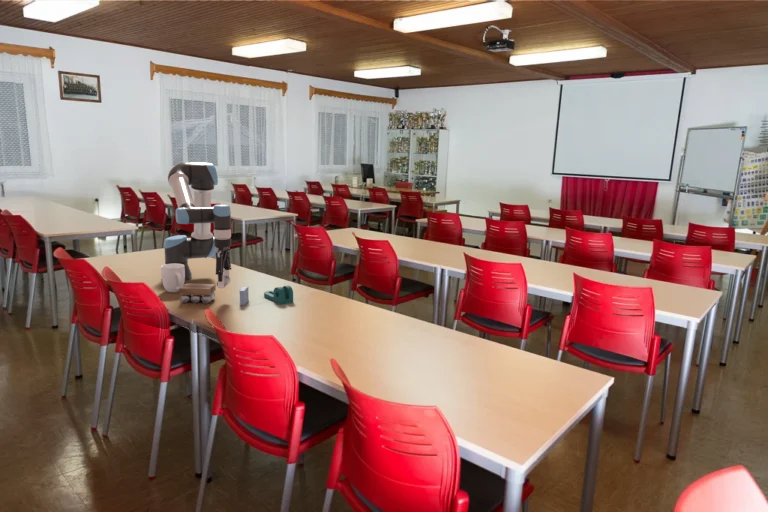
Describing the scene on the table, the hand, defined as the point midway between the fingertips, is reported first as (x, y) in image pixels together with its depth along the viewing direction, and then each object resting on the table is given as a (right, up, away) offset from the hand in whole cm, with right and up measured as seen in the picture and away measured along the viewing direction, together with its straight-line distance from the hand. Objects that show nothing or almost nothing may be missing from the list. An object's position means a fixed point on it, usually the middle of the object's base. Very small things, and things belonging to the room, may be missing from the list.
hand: (224, 285), depth 242 cm
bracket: (+23, -8, +10) cm, 26 cm away
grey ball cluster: (-13, -8, +2) cm, 15 cm away
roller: (0, +2, 0) cm, 2 cm away
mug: (-30, -4, +16) cm, 34 cm away
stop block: (+9, -8, +2) cm, 12 cm away
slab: (-13, -3, +1) cm, 13 cm away
